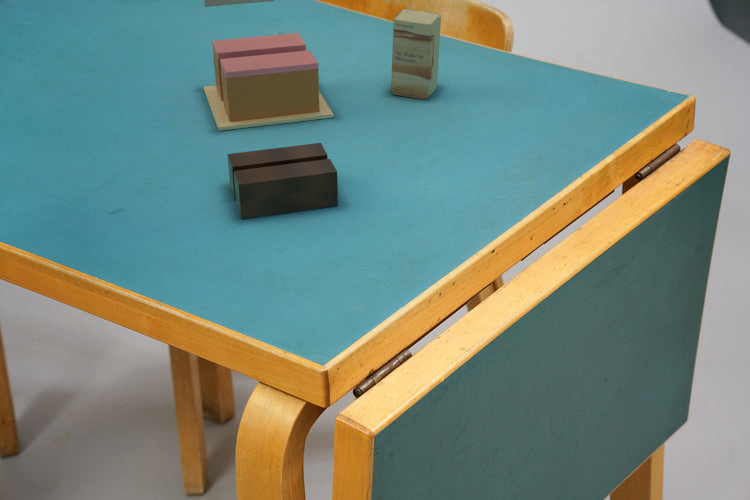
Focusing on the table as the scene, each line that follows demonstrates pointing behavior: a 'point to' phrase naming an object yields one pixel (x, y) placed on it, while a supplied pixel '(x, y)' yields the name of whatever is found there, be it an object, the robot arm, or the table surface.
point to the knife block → (282, 180)
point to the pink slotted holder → (264, 82)
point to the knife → (230, 2)
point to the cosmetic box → (415, 53)
